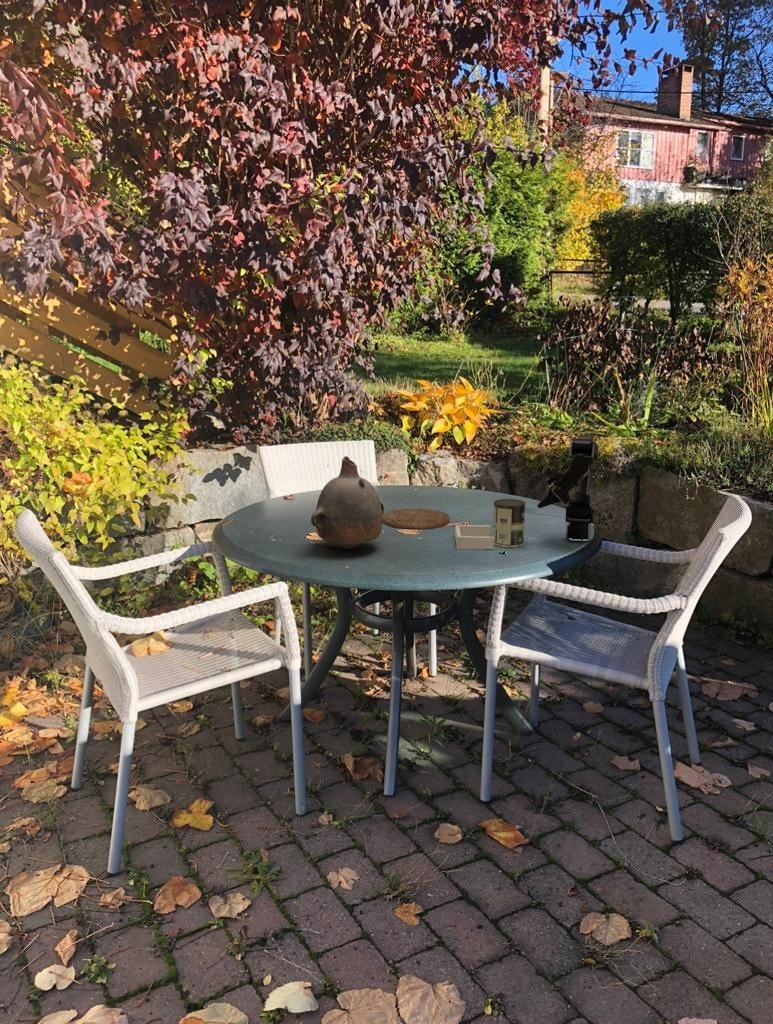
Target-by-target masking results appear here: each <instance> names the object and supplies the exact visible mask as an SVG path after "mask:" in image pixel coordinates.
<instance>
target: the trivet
mask: <svg viewBox="0 0 773 1024" xmlns="http://www.w3.org/2000/svg"><path fill="white" fill-rule="evenodd" d="M449 524H450V515H449V514H447V513H446V512H444V511H440V510H434V509H430V508H429V509H428V508H427V509H426V508H401V509H394V510H389V511H387V512H384V514H383V516H382V525H385V526H387V527H390V528H395V529H400V530H401V529H402V530H409V531H410V530H412V531H413V530H414V531H416V530H418V531H421V530H434V529H439V528H443V527H445V526H447V525H449Z"/></svg>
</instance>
